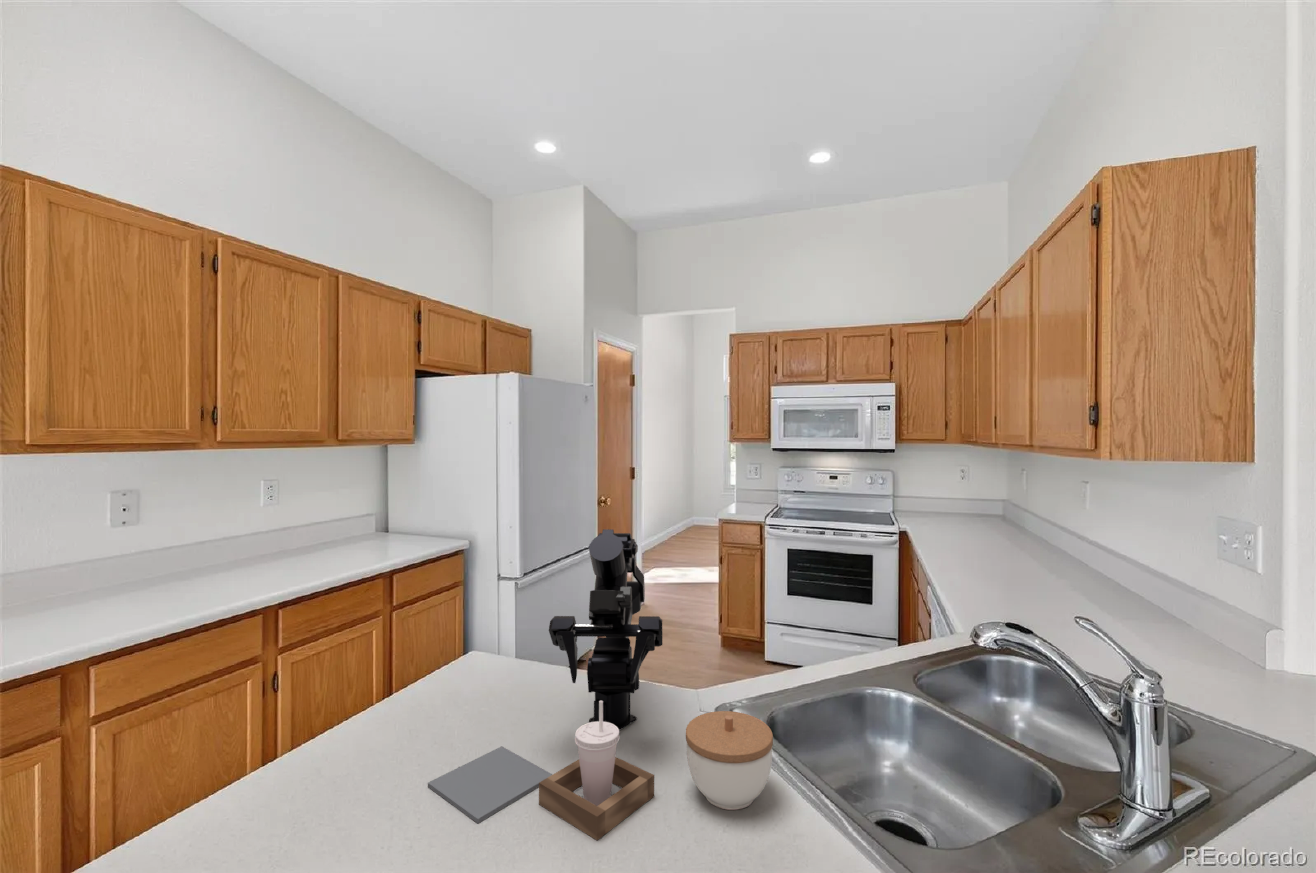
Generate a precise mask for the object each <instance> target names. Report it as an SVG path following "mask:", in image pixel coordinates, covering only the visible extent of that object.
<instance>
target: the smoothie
mask: <svg viewBox="0 0 1316 873" xmlns="http://www.w3.org/2000/svg"><path fill="white" fill-rule="evenodd" d="M574 735H575V738H574V743H575V744H576V746H577V752H578V759H579V761H580V770H581V778H582V792H583V795H582V796H583V798H584V799H586V800H587V801H589V802H591V803H593V804H594V805H596V806H598V805H599V804H601V803H602V802H604V801H605V800H606V799H608V798H609V797H611V796H612V788H613V783H612V781H613V772H614V764H615V757H616V754H617V747H618V745H617V744H618V742H619V741H620V738H621V737H620V730H619V729H618V727H617V726H615V725H614V724H612V723H609V722H603V701H599V721H597V722H590V723H589V722H587V723H585V724H582V725H580V726H579V727H578V728H577V729H576V731H575V734H574Z"/></svg>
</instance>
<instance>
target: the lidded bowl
mask: <svg viewBox="0 0 1316 873" xmlns="http://www.w3.org/2000/svg"><path fill="white" fill-rule="evenodd" d="M773 735H774V734H773V732H772V729H771V728H770V726H768V724H766V723H765V722H764V721H763V720H761V719H759V718H758V717H755V716H753V715H751V714H747V713H743V712H738V711H730V710H729V711H728V710H727V711H726V710H720V711H719V710H718V711H710V712H706V713H703V714H700V715H698V716H695V717H694V718H692V719H691V720H690V721H689V723H688V724H687V725H686V728H685V740H686V756H687V764H688V765H687V766H688V768H689V772H690V775H691V779H692V781H693V783H694V784H695V786H696V787H697V789H698V790H699V791H700V793H701V794H702V795H704V797H705V798H706V800H707V801H708V802H709V804H711V805H712V806H714V807H716V808H718V809H722V810H728V811H737V810H738V811H739V810H743V809H745V808H747V807H749V806H750V805H752V803H753V802H754V801H755V799H757V798H758V796H760V795H761V794H762V792H763V791H764V789H765V787H767V783H768V781H769V779H770V774H771V770H772V761H773V744H774V741H773V740H774V736H773Z"/></svg>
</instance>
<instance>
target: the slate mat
mask: <svg viewBox="0 0 1316 873" xmlns="http://www.w3.org/2000/svg"><path fill="white" fill-rule="evenodd" d="M553 774H554V773H551V772H549V771H547V770H545V769H544V768H542V767H540V766H539V765H537V764H534V763H533V762H531V761H530V760H527V759H525V758H524V757H522V756H521V755H519V754H517V753H515V752H513V751H511V750H510V749H508V748H506V747H504V746H500V747H497V748H495V749H493V750H491V751H489V752H486V753H484V754H483V755H481V756H479V757H477V758H475V759H473V760H471V761H469V762H467V763H465V764H462V765H461V766H459V767H457V768H455V769H452V770H451V771H449V772H446V773H445V774H443V775H441V776H438V777H436V778H434V779H433V780H430V781H429V782H427V787H428V788H429V789H430V790H431V791H433V792H435V794H437V795H439V796H440V797H441V798H442V799H443V800H445V801H446V802H448V803H449V804H451V805H452V806H454V808H456V809H457V810H459V811H460V812H461V813H463V814H464V815H465V816H467V817H468V818H469V819H471V820H473V821H474V822H475V823H477V824H480V823H481V822H483V821H485V820H487V819H488V818H489V817H491V816H494V814H497V813H498V812H499V811H501V810H503V809H505V808H507V807H508V806H509V805H512V804H513V803H514V802H516V801H518V800H520V799H522V798H523V797H524V796H526V795H528V794H530V793H531V792H533V791H535V790H536V789H539V782H541V781H543V780H544V779H546V778H548V777H550V776H551V775H553Z"/></svg>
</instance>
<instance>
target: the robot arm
mask: <svg viewBox="0 0 1316 873" xmlns="http://www.w3.org/2000/svg"><path fill="white" fill-rule="evenodd" d="M632 536H633V535H632V534H631V533H629V532H628V533H626V532H623V533H622V532H620V533H619V532H615V531H614V529H609V528H607V529H602V532H600V533H598V535H597V536H596V537H594V538H593V539H592V540H591V541H590V543H589V546H588V551H589V555H590V556H589V557H590V561H591V567H592V570H593V573H594V575H595V581H594V589H593V590H589V605H588V612H589V613H588V619H589V621H590V623H589V624H587V623H585V624H584V623H580V624H577V620H576V616H575V615H554V616H553V617H552V618H551V619H550V621H549V626H548V632H549V636H550V639H551V643H552V645H554V646H555V647H558V648H559V650H560V651H565V652H566V655H567V659H568V664H569V669H570V670H569V671H570V675H571V680H572V681H571V682H572V684H576V683H577V682H576V681H577V676H578V649H579V648H578V645H577V642H578V637H591V638H592V637H597V639H595V640H596V641H595V645H594V648H593V651H592V654H591V657H588V660H587V666H586V675H587V689H588V691H587V692H588V693H594V701H593V717H591V718H589V719H588V723H590V722H597V721H599V701H603V722H609V723H612V724H614V725H615V726H617V727H618V729H619V731H621V730H623V729H624V728H626V727H628V726H629V725H631V724H632V723H634V722H636V721H637V720H638V718H637V716H635V715H633V714H631V694H635V692H636V691H637V690H639V689H640V674H639V672H640V669H641V666H642V664H643V662H644V660H645V659H646V658H647V655H648V653H649V652H653V651H655V649H656V647H657V648H658V647H661V646H663V619H662V618H661V617H660V616H657V615H656V616H654V615H651V616H650V615H649V616H648V615H647V616H645V615H644V616H642V615H640V616H638V623H637V624H635V623H634V624H632V619H633V616H634V615H635V614H638V613H639V612H640V611H641V609H642V603H645V595H646V593H645V589H646V588H645V575H644V574H643V572H642V571H641V569H640V568H639V567H638V565H637V556H636V555H637V553H638V550H639V548H638V547H639V545H638V544H637V541H636V540H635V538H633V537H632ZM629 573H630V574H631V573H632V577H634V579H635V581H632V580H631V581H630V580H629V581H628V574H629ZM630 637H631V638H632V637H633V638H635V645H634V650H632V649H633V648H632V646H631V640H630ZM632 651H633V652H632ZM632 654H633V655H632Z"/></svg>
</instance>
